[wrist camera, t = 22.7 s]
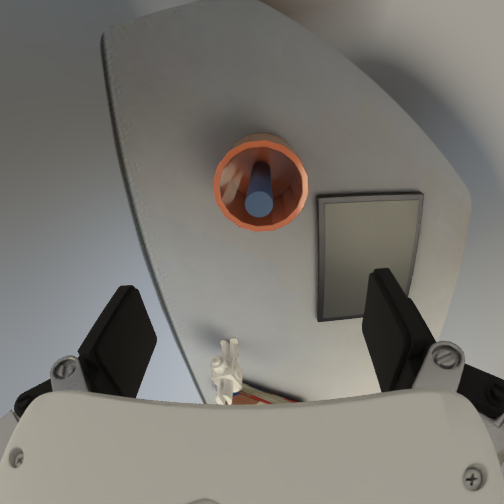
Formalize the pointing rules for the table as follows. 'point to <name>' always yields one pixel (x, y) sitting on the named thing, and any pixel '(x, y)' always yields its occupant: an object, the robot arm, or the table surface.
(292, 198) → the pen cup
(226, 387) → the toy robot
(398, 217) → the tablet
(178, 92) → the table surface
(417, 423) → the robot arm
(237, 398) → the pencil case
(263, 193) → the stylus
